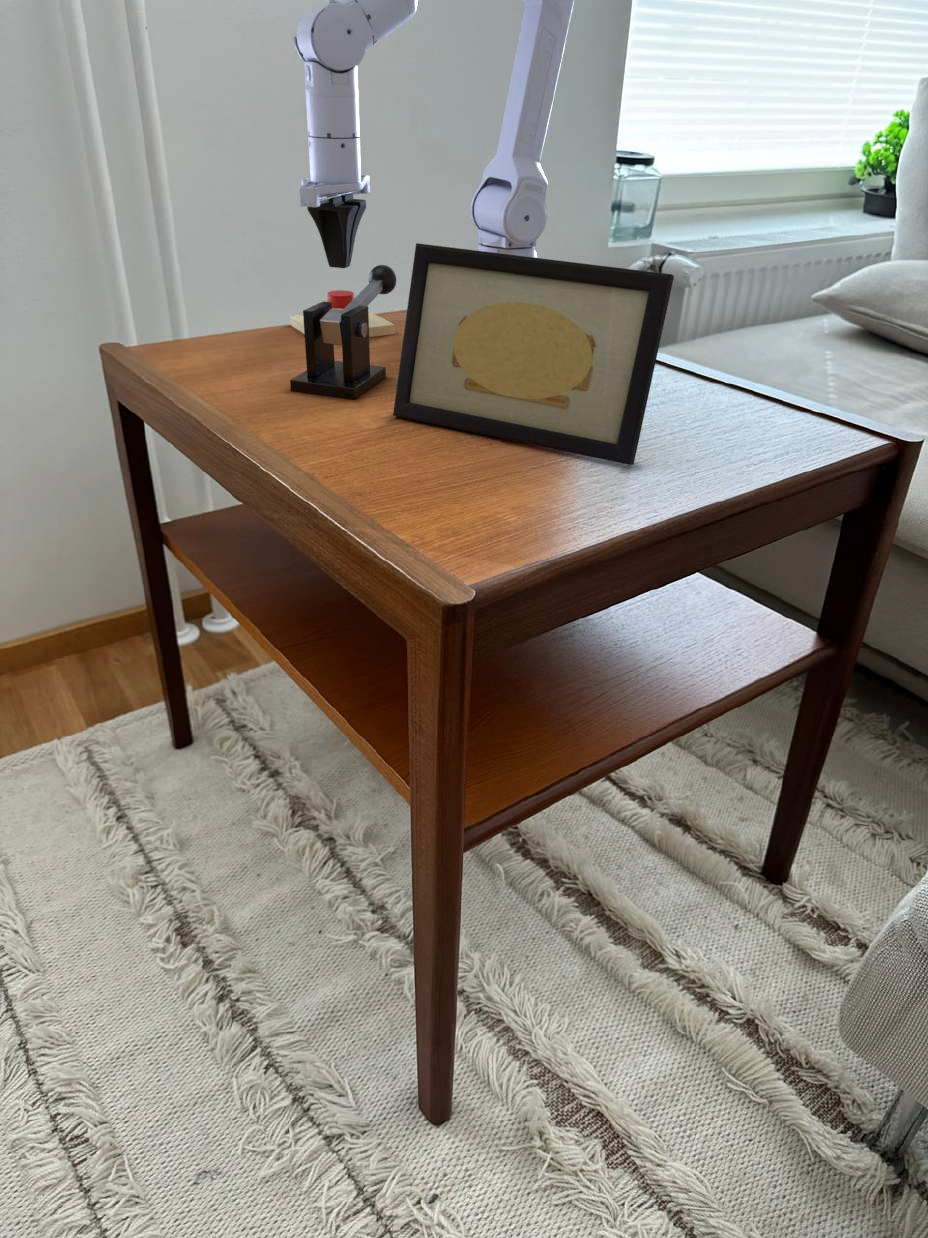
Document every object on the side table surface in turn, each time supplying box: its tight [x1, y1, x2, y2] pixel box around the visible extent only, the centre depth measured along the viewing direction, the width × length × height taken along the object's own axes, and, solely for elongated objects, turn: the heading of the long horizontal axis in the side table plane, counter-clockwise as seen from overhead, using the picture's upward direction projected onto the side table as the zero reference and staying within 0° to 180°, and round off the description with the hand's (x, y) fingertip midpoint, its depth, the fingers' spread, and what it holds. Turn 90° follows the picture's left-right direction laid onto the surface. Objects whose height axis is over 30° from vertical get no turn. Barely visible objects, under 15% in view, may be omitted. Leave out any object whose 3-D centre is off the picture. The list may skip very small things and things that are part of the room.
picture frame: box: [392, 242, 675, 466], centre depth 79 cm, size 23×9×15 cm, turn 62°
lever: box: [320, 264, 397, 346], centre depth 93 cm, size 15×3×3 cm, turn 162°
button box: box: [289, 299, 396, 338], centre depth 109 cm, size 10×9×3 cm
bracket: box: [289, 300, 387, 401], centre depth 89 cm, size 8×7×8 cm
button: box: [326, 289, 355, 309], centre depth 108 cm, size 3×3×2 cm
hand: (339, 266), depth 106 cm, fingers closed
